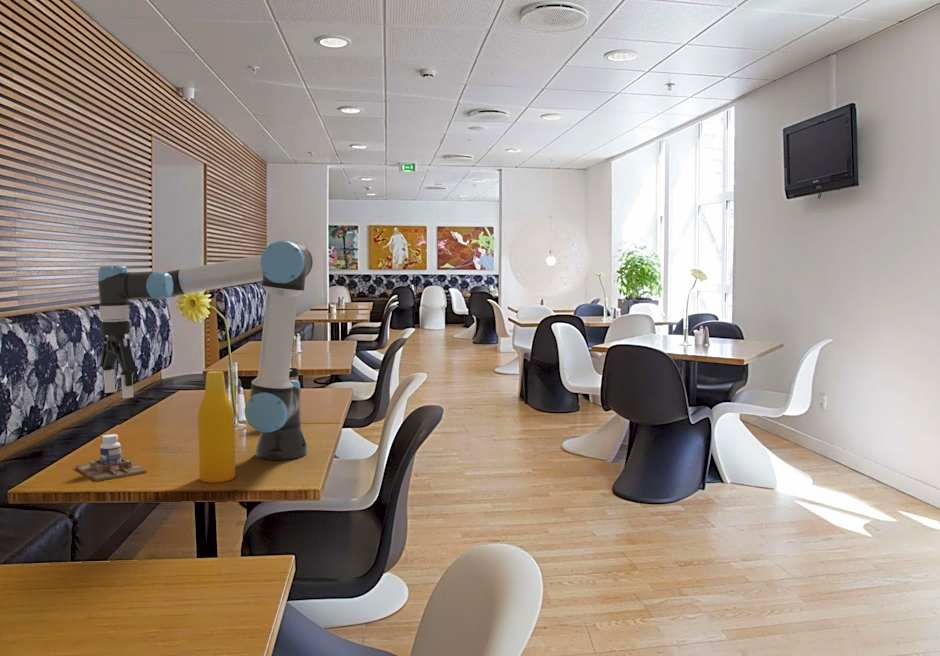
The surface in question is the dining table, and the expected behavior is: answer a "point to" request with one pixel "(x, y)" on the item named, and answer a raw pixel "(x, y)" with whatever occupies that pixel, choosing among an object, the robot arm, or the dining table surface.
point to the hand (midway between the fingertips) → (118, 395)
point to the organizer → (109, 469)
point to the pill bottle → (110, 450)
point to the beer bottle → (216, 432)
